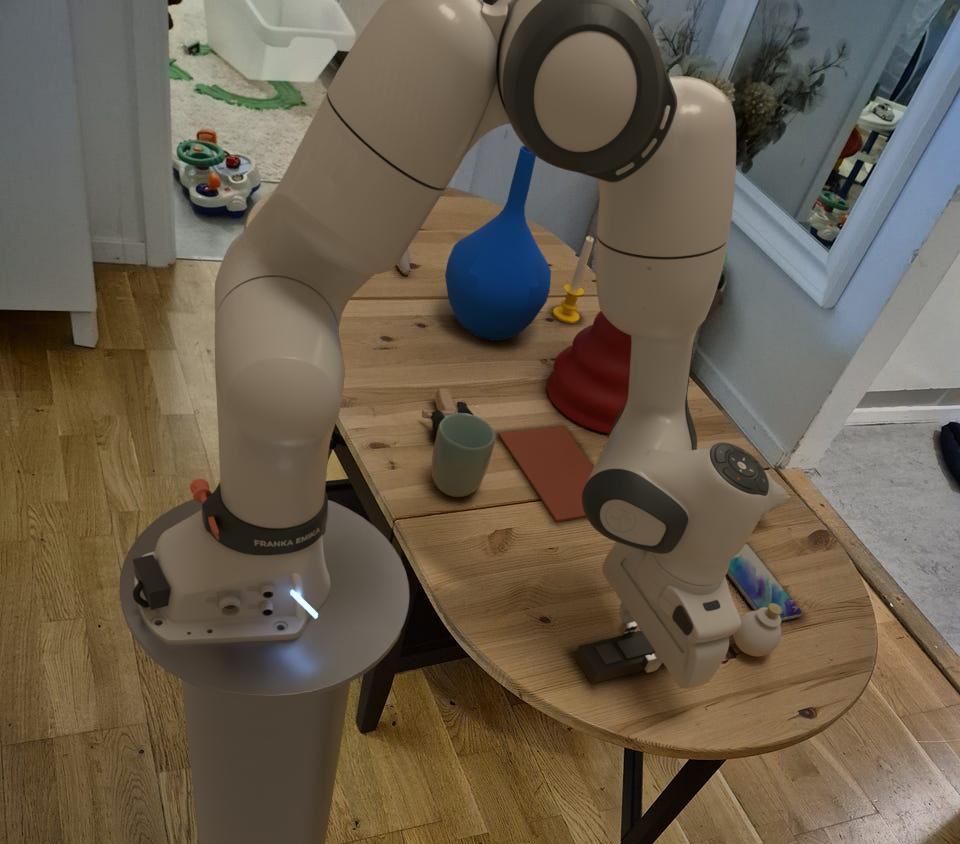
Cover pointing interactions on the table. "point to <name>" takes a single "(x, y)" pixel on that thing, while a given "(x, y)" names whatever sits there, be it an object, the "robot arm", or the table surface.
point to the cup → (461, 453)
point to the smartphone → (759, 583)
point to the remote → (613, 656)
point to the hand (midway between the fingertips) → (636, 649)
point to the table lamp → (593, 375)
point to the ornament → (760, 630)
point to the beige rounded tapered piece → (774, 496)
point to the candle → (574, 287)
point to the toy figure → (444, 408)
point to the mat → (552, 468)
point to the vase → (500, 268)
